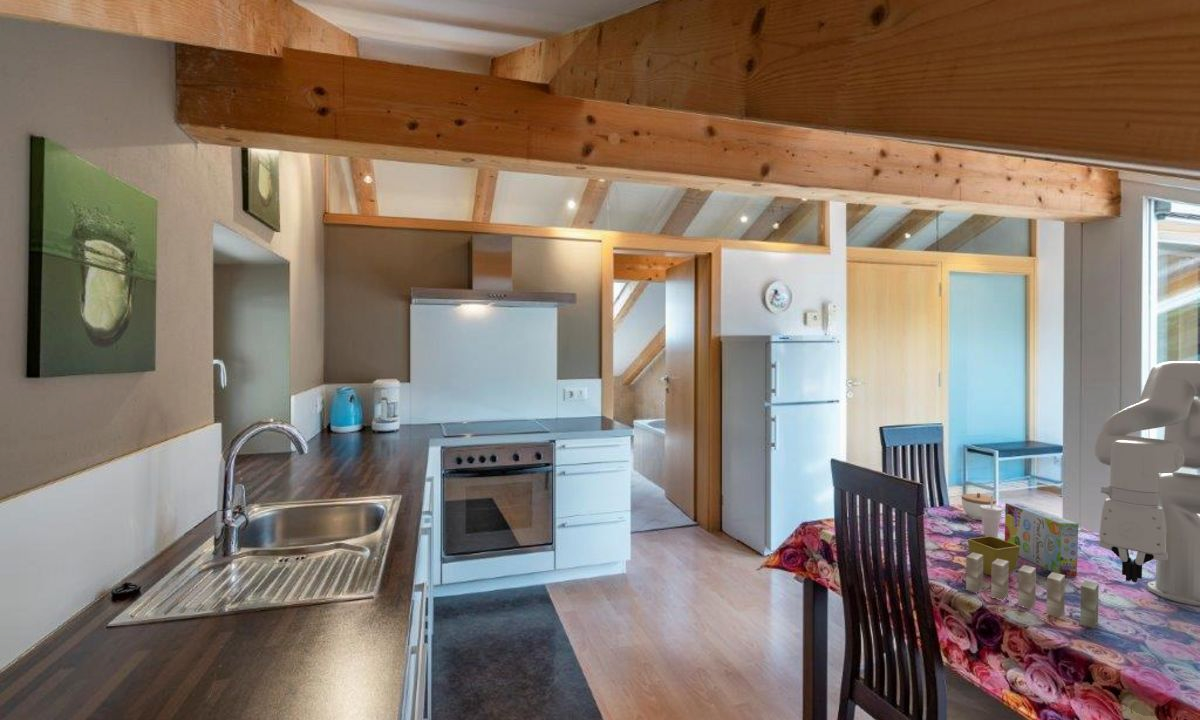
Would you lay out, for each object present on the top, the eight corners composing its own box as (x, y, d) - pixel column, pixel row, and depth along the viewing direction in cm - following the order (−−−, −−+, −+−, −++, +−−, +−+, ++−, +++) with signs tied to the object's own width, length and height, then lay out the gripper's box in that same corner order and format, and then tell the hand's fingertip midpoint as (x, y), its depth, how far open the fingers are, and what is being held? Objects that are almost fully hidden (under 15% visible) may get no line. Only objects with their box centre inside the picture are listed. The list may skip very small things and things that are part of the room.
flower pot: (996, 581, 144) (996, 549, 144) (966, 569, 153) (966, 538, 152) (1020, 578, 147) (1020, 546, 146) (989, 566, 155) (990, 535, 155)
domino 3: (1035, 603, 132) (1035, 568, 131) (1030, 609, 128) (1030, 573, 128) (1023, 600, 133) (1023, 565, 133) (1018, 606, 130) (1018, 570, 130)
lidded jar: (1001, 519, 198) (1001, 494, 198) (987, 524, 193) (987, 498, 193) (970, 512, 208) (970, 488, 207) (955, 516, 202) (955, 491, 202)
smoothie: (983, 537, 178) (983, 496, 178) (976, 531, 185) (976, 491, 184) (1005, 539, 177) (1006, 498, 176) (997, 533, 183) (998, 493, 183)
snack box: (1079, 577, 147) (1080, 523, 147) (1059, 576, 148) (1059, 523, 147) (1020, 548, 169) (1021, 501, 168) (1002, 548, 169) (1003, 501, 169)
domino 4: (1064, 612, 127) (1064, 575, 127) (1059, 618, 124) (1060, 580, 124) (1051, 608, 129) (1052, 572, 129) (1046, 614, 126) (1047, 577, 126)
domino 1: (982, 588, 140) (983, 554, 140) (976, 594, 137) (977, 559, 137) (972, 585, 142) (972, 552, 142) (966, 590, 139) (966, 556, 139)
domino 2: (1008, 595, 136) (1008, 561, 136) (1002, 601, 133) (1003, 566, 133) (997, 592, 138) (997, 558, 138) (991, 598, 135) (991, 563, 134)
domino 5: (1098, 621, 123) (1098, 583, 123) (1094, 628, 120) (1094, 589, 119) (1084, 617, 125) (1084, 580, 124) (1080, 624, 121) (1080, 586, 121)
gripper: (1084, 492, 120) (1082, 573, 120) (1182, 507, 108) (1180, 597, 108) (1090, 487, 124) (1089, 565, 124) (1185, 501, 113) (1183, 587, 113)
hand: (1131, 579), depth 116 cm, fingers closed
